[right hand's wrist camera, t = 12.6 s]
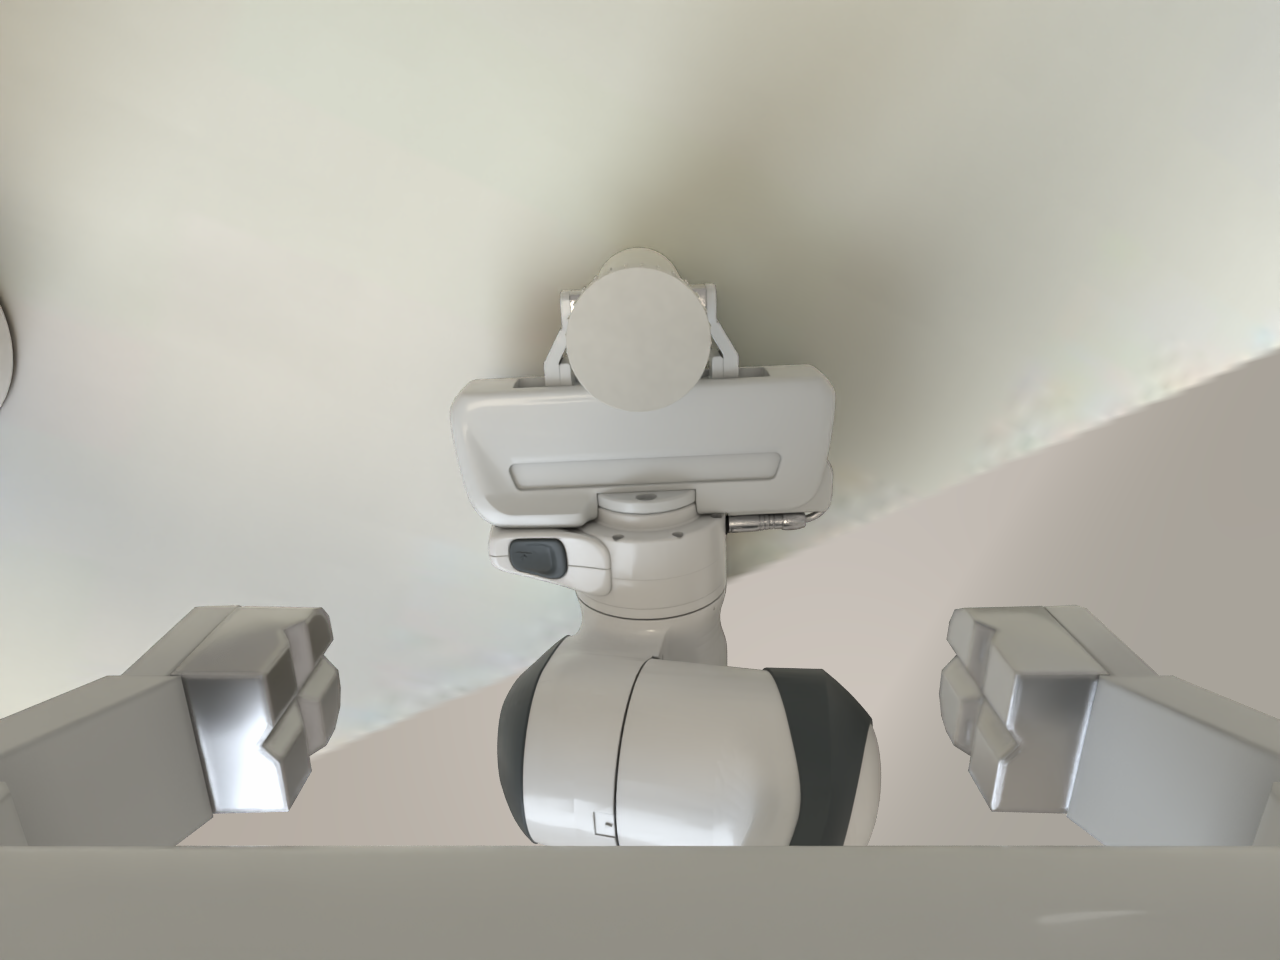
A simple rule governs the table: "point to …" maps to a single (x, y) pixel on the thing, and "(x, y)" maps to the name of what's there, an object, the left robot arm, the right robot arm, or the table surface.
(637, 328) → the lid
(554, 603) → the table surface
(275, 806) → the right robot arm
